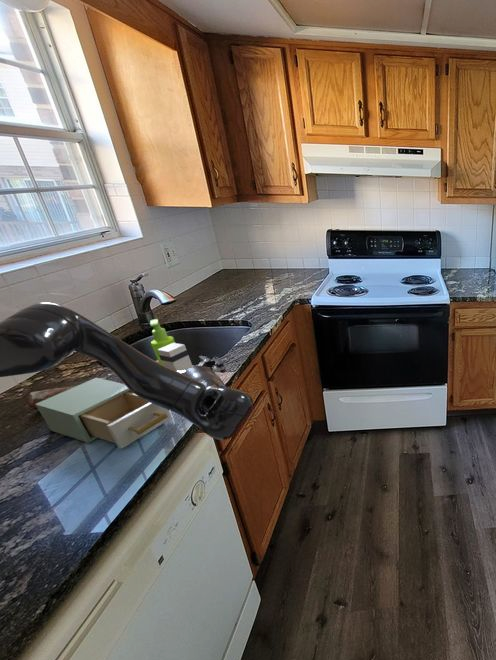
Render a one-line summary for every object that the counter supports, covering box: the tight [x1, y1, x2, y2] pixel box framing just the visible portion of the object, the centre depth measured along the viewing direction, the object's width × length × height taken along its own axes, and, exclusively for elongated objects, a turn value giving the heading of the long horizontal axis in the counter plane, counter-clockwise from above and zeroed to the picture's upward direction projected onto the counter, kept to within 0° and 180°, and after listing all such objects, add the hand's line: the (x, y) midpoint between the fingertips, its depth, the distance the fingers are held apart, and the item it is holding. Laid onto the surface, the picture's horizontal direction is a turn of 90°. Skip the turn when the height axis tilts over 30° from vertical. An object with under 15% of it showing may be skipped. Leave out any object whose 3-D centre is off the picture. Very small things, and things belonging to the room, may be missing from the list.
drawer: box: [78, 392, 172, 449], centre depth 94 cm, size 19×12×7 cm, turn 71°
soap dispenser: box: [149, 318, 176, 365], centre depth 117 cm, size 6×7×20 cm
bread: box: [27, 385, 77, 411], centre depth 108 cm, size 6×19×6 cm, turn 117°
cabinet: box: [35, 377, 133, 443], centre depth 98 cm, size 16×14×9 cm
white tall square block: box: [158, 342, 194, 371], centre depth 106 cm, size 5×5×17 cm
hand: (183, 364), depth 97 cm, fingers open, 8 cm apart
